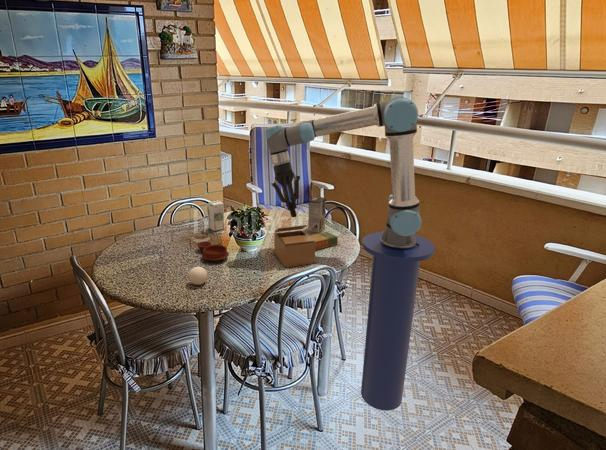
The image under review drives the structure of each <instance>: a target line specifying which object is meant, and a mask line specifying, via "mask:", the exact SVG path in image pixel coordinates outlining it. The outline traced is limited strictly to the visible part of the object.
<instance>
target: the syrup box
mask: <svg viewBox="0 0 606 450" xmlns="http://www.w3.org/2000/svg"><path fill="white" fill-rule="evenodd" d="M207 204H208V205H207V206H208V225H209V229H210V230H212V231H213V232H218V231H221V230H224V229H225V219H224V217H225V216H224V202H222V201H220V200H214V201H209V202H208V203H207Z"/></svg>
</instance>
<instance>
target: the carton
mask: <svg viewBox="0 0 606 450" xmlns="http://www.w3.org/2000/svg"><path fill="white" fill-rule="evenodd" d="M310 236H311V237H312V238H313V239H314V240H315V241H314V242H315V251H317V250H321V249H324V248H328V247H329V248H330V247H333V246H336V245H338V242H339V241H338V238H339V237H338V236H337V235H335V234H332V233H330V232H328V231H323V232H320V233H315V234H311V235H310Z"/></svg>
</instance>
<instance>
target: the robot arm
mask: <svg viewBox="0 0 606 450" xmlns="http://www.w3.org/2000/svg"><path fill="white" fill-rule="evenodd" d="M418 118H419V109H418V107H417V104H415V102H414V101H413V100H411V99H410V98H407V97H404V96H396V97H393V98H390V99H387V100H385V101H380V102H377V103H375V104H373V106H370V107H365V108H361V109H356V110H352V111H347V112H342V113H338V114H333V115H328V116H324V117H319V118H315V119H311V120H303V121H300V122H298V123H297V124H295V125H293V126H290V127H286V128H284V127H283V125H282V124H278V125H274V126H270V127H267V128H266V129H265V138H266V143H267V146H268V151H269V155H270V159H271V162H272V163H271V164H272V165H273V171H274V175H275V176H274V180H273V182H270V185H271V186H272V187H273V188H274V191H275V192H276V194H277V196H278V199H279V200H280V202H281V203H284V204H285V205H286V209H287V211H289V213H290V217H291V218H297V212H296V209H297V202H296V201H297V200H298V199H299V198H300V179H301V176H300V175H297V174H295V172H294V171H293V167H292V163H291V159H290V154H289V149H288V147H289V148H290V147H292V146H297V145H302V144H307V143H309V142H312V141H314V140H315V138H319V137H322V136H327V135H332V134H337V133H342V132H348V131H353V130H358V129H363V128H368V127H369V128H370V127H374V126H376V127H378V128H381V127H384V136H385V138H387V139H388V140H389V157H390V158H389V159H390V178H391V193H392V194H389V196H388V200H387V202H388V203H387V214H386V223H385V228H384V230H383V231H382V232H383V234H382V236H381V241H380V242H381V244H382V245H384V246H385V247H388V248H391V249H397V250H408V249H412V248H414V247H415V246H416V245H418V246H419V245H420V244H418V243H416V239H415V235H416V233H417V232H419V230H420V229H421V227H422V217H421V214H420V213H421V211H420V200H419V199H418V197H417V196H416V186H415V184H416V183H415V159H414V137H415V136H416V135H417V133H418V122H417V121H418ZM293 181H294V182H293ZM279 185H280V187H281V189H282V191H281V189H280V187H279Z"/></svg>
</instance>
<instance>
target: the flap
mask: <svg viewBox="0 0 606 450" xmlns="http://www.w3.org/2000/svg"><path fill="white" fill-rule="evenodd" d="M306 228H308V224H304V225H293V226H285V227H278V228H277V229H276V230H274V233H282V232H291V231H300V230H304V229H306Z"/></svg>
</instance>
